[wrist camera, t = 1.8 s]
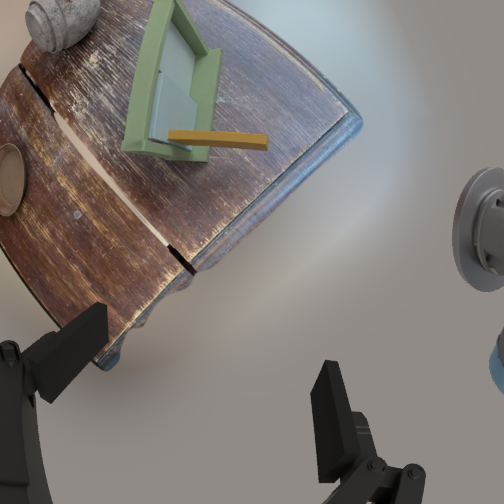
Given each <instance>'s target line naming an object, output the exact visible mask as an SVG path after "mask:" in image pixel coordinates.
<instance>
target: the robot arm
mask: <svg viewBox="0 0 504 504" xmlns="http://www.w3.org/2000/svg"><path fill="white" fill-rule="evenodd" d="M474 248H475V253H476V257H477V260H478V262H479V264H480V265H481V267H482V268H483V269H484V270H486V271H488V272H489V273H491V274H494V275H501V276H504V190H502V189H499V190H495V191H493V192H491V193H490V194H489V195H488V196H487V197H486V198H485V200H484V201H483V203H482V205H481V207H480V209H479V212H478V215H477V218H476V222H475V228H474ZM108 342H109V337H108V318H107V305H105V304H103V303H100V302H96V303H95V304H93V305H92V306H91V307H89V308H88V309H87V310H85V311H84V312H83V313H81V314H80V315H79V316H77V317H76V318H75V319H74V320H72V321H71V322H70V323H68V324H67V325H66V326H65V327H63V328H62V329H61V330H60V331H58V332H57V333H56V332H55V331H52V332H49V333H47V334H45V335H44V336H42V337H41V338H40V340H37V341H36V342H35V343H33V344H32V345H31V346H30V347H28V348H27V349H26V350H25V351H23V352H22V353H21V352H20V349H19V345H18V344H17V343H16V342H14V341H11V340H7V341H3V342H1V343H0V504H53V502H52V499H51V496H50V492H49V488H48V484H47V479H46V475H45V471H44V465H43V460H42V455H41V448H40V441H39V434H38V425H37V413H36V398H35V394H34V393H35V392H36V391H37V390H38V392H39V394H40V397H41V398H42V399H44V400H46V401H47V402H49V403H50V404H51V403H53V401H54V400H55V399H56V398H57V397H58V396H59V395H60V393H61V392H62V391H63V390H64V389H65V388H66V387H67V386H68V385H69V384H70V383H71V381H72V380H73V379H74V378H75V377H76V376H77V375H78V374H79V373H80V372H81V370H82V369H83V368H84V367H85V366H86V365H87V364H88V363H89V362H90V361H91V360H92V359H93V358H94V357H95V356H96V355H97V353H98V352H99V351H100V350H101V349H102V348H103V347H104V346H105V345H106V344H107V343H108ZM489 364H490V365H489V369H490V373H491V376H492V379H493V381H494V382H495V384H496V385H497V387H498V388H499V389H500V391H501V392H502V393H503V394H504V328H503V330H502V332H501V334H500V335H499V336H498V338H497V343H496V345H495V347H494V350H493V352H492V354H491V356H490V360H489ZM310 395H311V404H312V413H313V423H314V433H315V443H316V454H317V466H318V476H319V477H318V478H319V483H335V482H336V481H337V480H338V479H339V478H340V485H339V486H338V487H337V488H336V489H335V490H334V491H333V492H332V494H331V495H330V496H329V497H328V498H327V499H326V500H325V501H324V502H323V503H322V504H366V503H367V501H369V502H372V503H371V504H421V502H422V496H423V491H424V485H425V478H426V473H425V471H424V469H423V468H422V467H421V466H420V465H417V464H408V465H406V466H405V467H404V468H403V469H401V468H395V467H390V466H387V464H386V462H385V461H384V460H383V459H382V458H380V457H378V456H377V453H376V449H375V446H374V442H373V439H372V435H371V432H370V428H369V425H368V422H367V419H366V418H365V416H364V415H363V414H362V413H361V412H352V411H351V408H350V405H349V401H348V397H347V393H346V390H345V386H344V382H343V379H342V375H341V371H340V368H339V365H338V362H337V361H330V360H325V362H324V364H323V366H322V369H321V371H320V373H319V376H318V378H317V380H316V382H315V384H314V387H313V389H312V391H311V393H310Z"/></svg>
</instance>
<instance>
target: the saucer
mask: <svg viewBox="0 0 504 504" xmlns="http://www.w3.org/2000/svg"><path fill="white" fill-rule="evenodd" d="M26 181H27V171H26V165H25V161H24V158H23V156H22V154H21V152H20V151H19V149H18V148H17V147H16V146H15V145H13V144H11V143H8V144H5V145H3V146H2V147H1V148H0V214H1V215H3V216H10V215H12V214H13V213H14V212H15V211H16V209H17V208H18V207H19V205H20V203H21V201H22V199H23V196H24V192H25V188H26Z"/></svg>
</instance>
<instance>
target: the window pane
mask: <svg viewBox="0 0 504 504" xmlns="http://www.w3.org/2000/svg"><path fill="white" fill-rule="evenodd" d="M197 106H198V104H197V103H196V102H195V101H194V100H193V99H192V98H191V97H190V96H189V95H187V94H186V93H185V92H184V91H183V90H182V89H181V88H180V87H179V86H178V85H177V84H175V83H174V82H173V81H172V80H171V79H170V78H169V77H168V76H167V75H165V74H164V73H158V78H157V83H156V89H155V94H154V101H153V107H152V114H151V121H150V128H149V137H148V139H152V140H155V141H159V142H162V143H165V144H169V145H172V146H175V147H179V148H182V149H185V150H188V151H192V147H193V146H210V147H227V148H240V149H252V150H262V151H268V137H267V135H263V134H252V133H240V132H225V131H202V130H194V129H195V121H196V113H197Z"/></svg>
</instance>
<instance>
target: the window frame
mask: <svg viewBox="0 0 504 504" xmlns="http://www.w3.org/2000/svg"><path fill="white" fill-rule="evenodd" d="M152 3H153V7H152V10H151V13H150V16H149V19H148V22H147V26H146V29H145V33H144V37H143V40H142V44H141V48H140V52H139V56H138V60H137V65H136V69H135V74H134V79H133V84H132V89H131V95H130V101H129V107H128V113H127V120H126V127H125V135H124V140H122V144H121V152H128V153H135V154H142V155H149V156H155V157H161V158H165V160H173V161H196V162H209V154H210V146H193V147H192V151H188V150H185V149H182V148H179V147H175V146H172V145H169V144H166V145H163V144H159V143H156V142H152V141H148V136H149V128H150V120H151V113H152V107H153V100H154V94H155V88H156V83H157V77H158V73H164V74H165V75H167V76H168V77H169V78H170V79H171V80H172V81H173V82H174V83H175V84H177V85H178V86H179V87H180V88H181V89H182V90H183V91H184V92H185V93H186V94H187V95H189V96H190V97H191V98H192V99H193V100H194V101H195V102H196V103H197V104H198V106H197V113H196V121H195V129H194V130H202V131H212V128H213V119H214V112H215V104H216V96H217V89H218V82H219V75H220V69H221V62H222V56H223V52H222V49H208V47H207V45H206V43H205V41H204V39H203V37H202V36H201V34H200V32H199V30H198V28H197V27H196V25H195V23H194V21H193V19H192V18H191V16H190V14H189V12H188V11H187V9H186V7H185V6H184V4H183V2H182V0H153V1H152Z"/></svg>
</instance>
